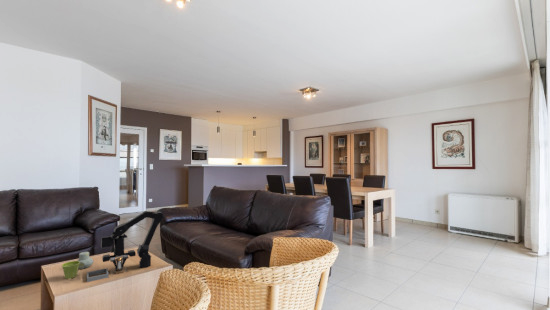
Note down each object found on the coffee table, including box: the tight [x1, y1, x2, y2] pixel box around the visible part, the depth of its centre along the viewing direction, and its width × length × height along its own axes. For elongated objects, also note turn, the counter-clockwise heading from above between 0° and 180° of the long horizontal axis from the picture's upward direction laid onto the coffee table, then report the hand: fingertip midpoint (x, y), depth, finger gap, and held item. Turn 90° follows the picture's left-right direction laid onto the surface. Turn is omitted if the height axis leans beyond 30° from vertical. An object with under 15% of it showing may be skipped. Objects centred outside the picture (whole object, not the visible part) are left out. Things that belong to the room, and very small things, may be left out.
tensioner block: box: [109, 266, 129, 277], centre depth 180 cm, size 10×11×2 cm
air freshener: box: [76, 251, 94, 270], centre depth 190 cm, size 11×8×10 cm
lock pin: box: [115, 256, 123, 272], centre depth 179 cm, size 4×4×9 cm
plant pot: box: [61, 260, 80, 280], centre depth 173 cm, size 9×9×9 cm
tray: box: [86, 267, 110, 283], centre depth 172 cm, size 11×11×3 cm
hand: (119, 268), depth 179 cm, fingers closed on lock pin, 3 cm apart
